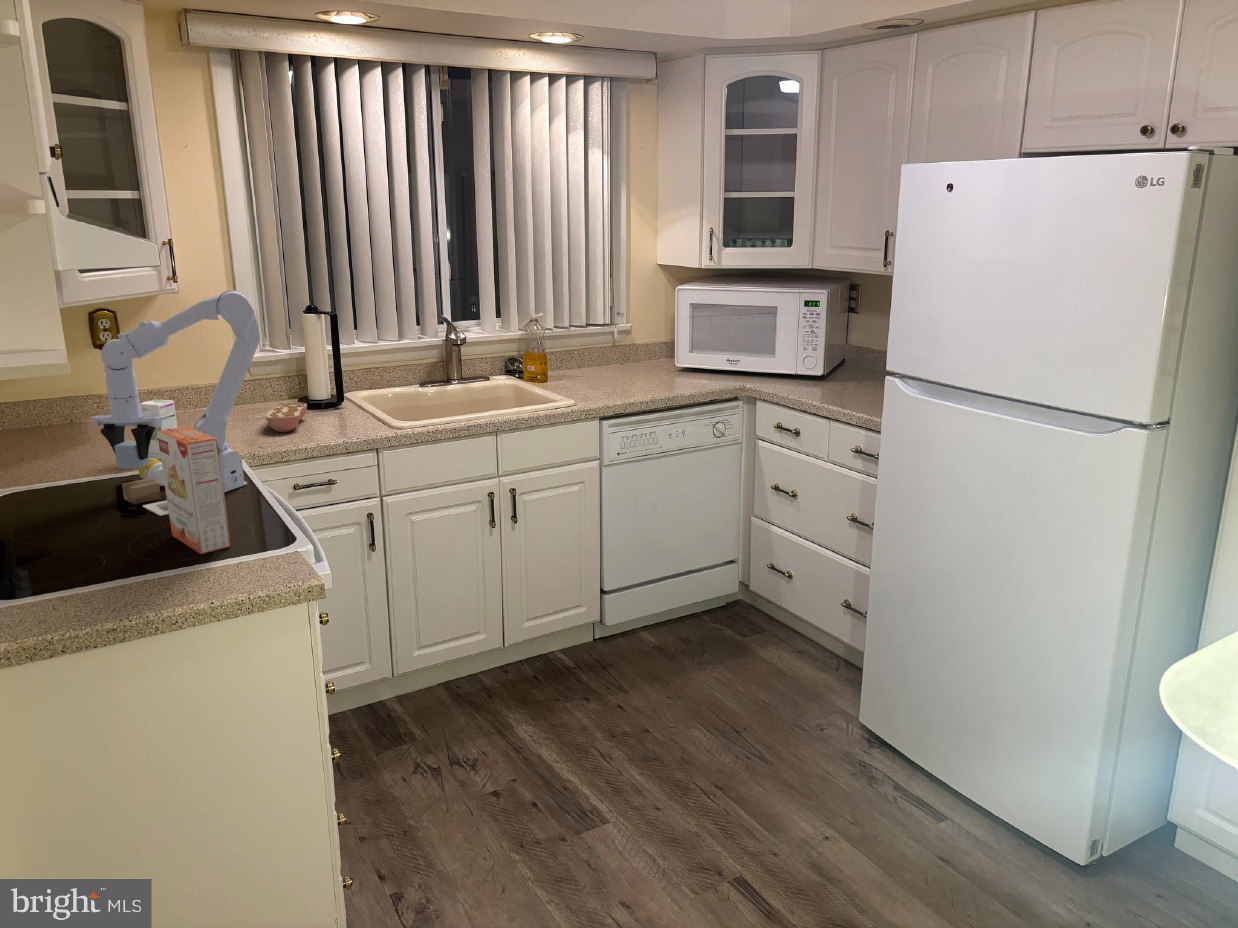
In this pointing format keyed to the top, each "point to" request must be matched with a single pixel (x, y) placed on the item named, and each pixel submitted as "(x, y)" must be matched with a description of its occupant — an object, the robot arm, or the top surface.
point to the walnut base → (141, 491)
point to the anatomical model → (285, 416)
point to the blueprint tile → (158, 508)
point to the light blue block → (128, 456)
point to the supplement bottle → (153, 471)
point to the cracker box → (194, 489)
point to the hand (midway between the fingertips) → (132, 458)
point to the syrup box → (168, 421)
